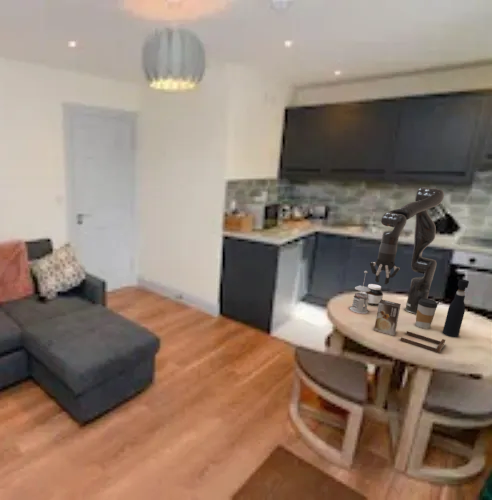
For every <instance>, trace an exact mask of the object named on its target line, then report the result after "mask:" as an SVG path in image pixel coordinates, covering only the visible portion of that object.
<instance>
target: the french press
mask: <svg viewBox="0 0 492 500" xmlns="http://www.w3.org/2000/svg"><path fill="white" fill-rule="evenodd" d="M363 273H364V276H366V274H368V273H369V272H368V271H367V270H364V271H363ZM365 280H366V277H364V278H363V281H365ZM364 285H365V282H363V284H362V285H357V286H355V287H354V289H355V290H356V291H358V292H355V293H354V295H353V298H352V299H353V300H352V304H351V305H352V306H350V307H349V310H350V312H351V311H352V312H354V313H355V314H356V313H357V314H363V315H365V314H368V313H369V311H368V305H369V304H368V300H369V298H370V296H368V295H369V294H367V295H366V294H362V293H360V292H361V291H362V292H369V291H371V290H370V289H369V288H368V286H364ZM368 297H369V298H368ZM360 299H364V300H366V299H367V300H366V301H364V300H360ZM369 303H370V301H369ZM369 306H370V305H369Z"/></svg>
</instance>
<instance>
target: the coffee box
mask: <svg viewBox="0 0 492 500" xmlns="http://www.w3.org/2000/svg"><path fill="white" fill-rule="evenodd" d="M401 306H402V305H401V303H399V302H394V301H391V300H386V299H383V298H382V299H381V300H380V302H379V305H377V311H376V317H375V321H374V328H373V330H374V331H375V332H379V333H383V334H386V335H389V336H392V337H393V336H395V334H396V331H397V326H398V321H399V316H400V310H401Z"/></svg>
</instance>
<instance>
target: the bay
mask: <svg viewBox="0 0 492 500" xmlns="http://www.w3.org/2000/svg"><path fill="white" fill-rule="evenodd" d="M405 335H407V336H410V337H413V338H416V339H420V340H422V341H427V342H429V343H433V344H436V345H437V346H436V347H434V346H430V345H427V344H424V343H421V342H418V341H414V340H411V339H408V338H405V337H402V336H401V337H400V341H401V342H403V343H407V344H408V345H409V344H410V345H413V346H416V347H418V348H423V349H425V350H428V351H430V352H431V351H432V352H434V353H437V354H440V353H441V351H442V349H443V348H444V346H445V344H446V339H444V338H442V339H441V340H437V339H434V338H431V337H428V336H424V335H421V334H418V333H414V332H411V331H409V330H406V332H405Z"/></svg>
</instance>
